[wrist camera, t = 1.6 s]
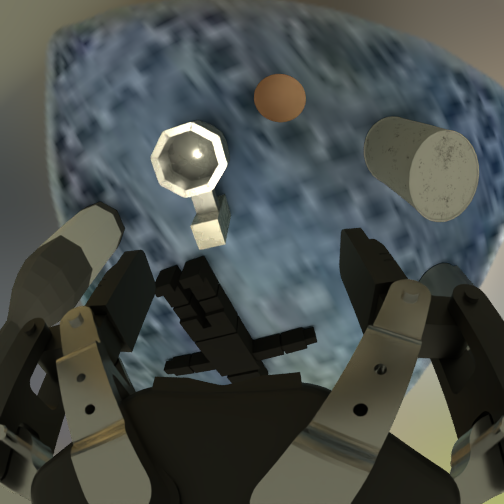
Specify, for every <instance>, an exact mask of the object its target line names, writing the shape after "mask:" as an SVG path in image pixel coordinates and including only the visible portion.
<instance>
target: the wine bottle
mask: <svg viewBox="0 0 504 504" xmlns="http://www.w3.org/2000/svg"><path fill="white" fill-rule="evenodd" d="M124 229H125V228H124V226H123V223H122V221H121V219H120V217H119V214H118V212H117V210H115V209H113V208H111V207H109V206H108V205H106V204H104V203H102V202H98V203H96V204H93V205H91V206H88V207H86V208H84V209H82V210H81V211H80V212H79V213H77V214H76V215H75V216H74V217H73V218H71V219H70V220H69V221H68V222H67V223H65V224H64V225H63V226H62V227H61V228H60V229H59V230H57V231H56V232H55V233H54V234H53V235H52V236H51V237H50V238H49V239H47V240H46V241H45V242H44V243H43V244H42V245H41V246H40V247H39V248H38V249H37V250H36V251H35V252H34V253H33V254H31V255H30V256H29V257H28V258H27V259H26V260H25V262H24V264H23V266H22V267H21V269H20V271H19V273H18V275H17V277H16V280H15V283H14V286H13V289H12V294H11V299H10V306H9V312H8V318H7V321H6V323H5V324H4V326H3V327H2V328H1V330H0V365H1V363H2V361H3V359H4V358H5V356H6V354H7V352H8V350H9V349H10V347H11V345H12V343H13V342H14V340H15V338H16V337H17V335H18V333H19V332H20V330H21V329H22V327H23V326H24V325H25V324H26V323H27V322H28V321H30V320H32V319H34V318H42V319H43V320H44V321H45V323H46V324H47V326H48V327H51V326H52V325H54V324H56V323H57V322H59V321H60V320H61V319H62V318H63V316H64V315H65V314H66V313H67V312H68V311H70V310H72V309H73V308H74V307H75V306H76V304H77V303H78V301H79V300H80V298H81V297H82V296H83V294H84V293H85V291H86V290H87V288H88V287H89V285H90V284H91V283H92V281H93V280H94V278H95V277H96V276H97V274H98V273H99V271H100V270H101V269H102V267H103V266H104V265H105V263H106V262H107V261H108V259H109V258H110V257H111V255H112V254H113V253H114V251H115V250H116V249H117V247H118V246H119V244H120V241H121V238H122V235H123V232H124Z"/></svg>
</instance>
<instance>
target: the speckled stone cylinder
mask: <svg viewBox="0 0 504 504" xmlns="http://www.w3.org/2000/svg"><path fill="white" fill-rule="evenodd" d="M364 158H365V162H366V165H367V167H368V169H369V171H370V172H371V173H372V175H373V176H374V177H375V178H377V179H378V180H379V181H381V182H383V183H384V184H385V185H387V186H388V187H389V188H391V189H392V190H393V191H394V192H396V193H397V194H398V195H399V196H401V197H402V198H403V199H404V200H406V201H407V202H408V203H409V204H410V205H412V206H413V207H414V208H415V209H416V210H417V211H418V212H419V213H420V214H421V215H422V216H423V217H425V218H427V219H428V220H430V221H435V222H446V221H449V220H451V219H454V218H455V217H457V216H458V215H460V214H461V213H462V212H463V211H464V210H465V209H466V208H467V206H468V205H469V204H470V202H471V201H472V199H473V196H474V194H475V192H476V188H477V185H478V179H479V164H478V159H477V155H476V153H475V150H474V148H473V146H472V145H471V144H470V142H469V141H468V140H467V139H466V138H465V137H464V136H463V135H462V134H460V133H458V132H456V131H452V130H446V129H443V128H439V127H436V126H432V125H428V124H424V123H420V122H416V121H412V120H407V119H403V118H400V117H387V118H384V119H382V120H380V121H378V122H377V123H376V124H374V125H373V126H372V128H371V129H370V130H369V132H368V134H367V136H366V139H365V143H364Z"/></svg>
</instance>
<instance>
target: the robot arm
mask: <svg viewBox="0 0 504 504" xmlns="http://www.w3.org/2000/svg"><path fill="white" fill-rule="evenodd" d="M339 267H340V275H341V279H342V281H343V284H344V286H345V288H346V291H347V293H348V296H349V298H350V301H351V303H352V306H353V308H354V311H355V313H356V316H357V319H358V321H359V324H360V327H361V329H362V332H363V337H362V339H361V341H360V343H359V345H358V347H357V348H356V350H355V352H354V354H353V356H352V357H351V359H350V361H349V363H348V364H347V366H346V368H345V370H344V371H343V373H342V375H341V376H340V378H339V380H338V381H337V383H336V385H335V386H334V388H333V389H332V390H329V389H327V388H325V387H321V386H318V385H314V384H309V383H302V382H301V375H300V372H296V373H287V374H276V375H263V376H259V377H256V378H252V379H248V380H244V381H241V382H237V383H233V384H229V385H217V384H213V383H208V382H203V381H199V380H195V379H191V378H177V377H155V379H154V383H153V387H150V388H146V389H143V390H140V391H138V392H136V391H135V389H134V387H133V385H132V383H131V381H130V379H129V376H128V374H127V372H126V370H125V367H124V365H123V363H122V361H121V359H120V357H119V354H120V352H132V351H133V348H134V345H135V343H136V340H137V338H138V335H139V332H140V330H141V327H142V325H143V322H144V320H145V317H146V315H147V312H148V310H149V307H150V305H151V302H152V300H153V298H154V295H155V290H156V286H155V281H154V278H153V275H152V272H151V269H150V266H149V264H148V261H147V258H146V255H145V253H144V251H143V250H134V251H126V252H124V254H123V255H122V256H121V258H120V259H119V261H118V262H117V264H115V265H114V266H113V267H112V268H111V269H109V270H108V271H107V272H106V274H105V275H104V277H103V278H102V280H101V281H100V283H99V284H98V287H96V289H95V290H94V292H93V294H92V295H91V297H90V298H89V300H88V301H87V303H86V305H85V306H79V307H76V308H73V309H72V310H70V311H68V312H67V313H66V314H65V315H64V316H63V318H62V319H61V321H60V325H56V326H53V327H48V326H47V324H46V323H45V321H44V320H43V319H42V318H34V319H32V320H30V321H28V322H27V323H26V324H25V325H24V326H23V327H22V329H21V330H20V332H19V333H18V335H17V337H16V338H15V340H14V342H13V343H12V345H11V347H10V349H9V350H8V352H7V354H6V356H5V358H4V359H3V361H2V363H1V365H0V486H1V487H3V488H5V489H7V490H9V491H10V492H12V493H15V494H18V495H20V496H22V497H24V498H26V499H28V500H30V501H31V502H32V504H482V503H484V502H485V501H487V500H489V499H491V498H493V497H495V496H497V495H499V494H501V493H503V492H504V321H503V319H502V318H501V316H500V315H499V313H498V312H497V310H496V309H495V308H494V306H493V305H492V303H491V302H490V300H489V299H488V298H487V296H486V295H485V294H484V293H483V292H482V291H481V290H480V289H479V288H477V287H475V286H474V285H473V283H472V282H471V281H470V280H469V279H468V277H467V276H466V275H465V274H464V273H463V272H462V271H461V269H460V268H459V267H458V266H457V265H456V266H452V265H450V264H447V263H442V264H438V265H436V266H434V267H432V268H431V269H429V270H428V271H427V272H426V273H425V274H424V276H423V277H422V278H421V280H420V281H419V282H418V281H415V280H410V279H408V278H407V277H406V275H405V274H404V272H403V271H402V270H401V268H400V267H399V265H398V264H397V262H396V261H395V260H394V258H393V257H392V256H391V254H389V251H388V250H387V249H386V247H385V246H384V245H383V244H382V243H380V242H378V241H377V240H375V239H369V238H368V237H367V236H366V234H365V233H364V231H363V230H362V229H361V228H351V229H342V231H341V242H340V262H339ZM417 358H430V359H431V362H432V364H433V367H434V369H435V372H436V374H437V377H438V380H439V382H440V385H441V388H442V391H443V393H444V396H445V399H446V402H447V405H448V408H449V411H450V414H451V417H452V420H453V424H454V427H455V431H456V434H457V438H458V440H457V441H456V443H455V444H454V446H453V449H452V454H451V472H450V474H449V473H448V472H447V471H445V470H444V469H442V468H441V467H439V466H438V465H436V464H435V463H433V462H431V461H430V460H429V459H427V458H426V457H424V456H423V455H421V454H420V453H418V452H417V451H415V450H414V449H412V448H411V447H410V446H408V445H407V444H405V443H404V442H403V441H401V440H400V439H398V438H397V437H396V436H394V435H393V434H391V433H390V432H389V431H390V428H391V426H392V424H393V422H394V420H395V417H396V415H397V412H398V410H399V408H400V405H401V403H402V400H403V398H404V395H405V393H406V390H407V387H408V385H409V382H410V379H411V376H412V373H413V370H414V367H415V364H416V361H417ZM37 363H38V364H39V365H40V366H41V368H42V369H43V370H44V371H45V372H46V376H45V378H44V381H43V383H42V385H41V388H40V390H39V393H38V395H36V394H35V393H34V392H33V391H32V390H31V387H30V378H31V376H32V374H33V372H34V369H35V368H36V365H37ZM65 414H66V419H67V422H68V426H69V430H70V434H71V438H72V441H73V442H71V443H70V444H69V445H68V446H66V447H65V448H64V449H63V450H61V451H60V452H59V453H58V454H56V455H55V456H54V457H53V454H54V449H55V446H56V442H57V439H58V435H59V432H60V429H61V425H62V422H63V419H64V416H65Z"/></svg>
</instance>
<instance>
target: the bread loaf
mask: <svg viewBox="0 0 504 504" xmlns="http://www.w3.org/2000/svg"><path fill="white" fill-rule="evenodd" d="M254 101H255V105H256V107H257V109H258V111H259V112H260V113H261V114H262V115H263V116H264V117H265V118H267V119H269V120H271V121H275V122H287V121H290V120H292V119H294V118H296V117H297V116H298V115H299V114H300V113H301V112H302V110H303V109H304V106H305V102H306V95H305V91H304V89H303V87H302V85H301V84H300V83H299V82H298V81H297V80H296V79H294V78H293V77H291V76H288V75H284V74H274V75H270V76H268V77H266V78H264V79H263V80H262V81H261V82H260V83H259V84H258V86H257V87H256V90H255V93H254Z"/></svg>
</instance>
